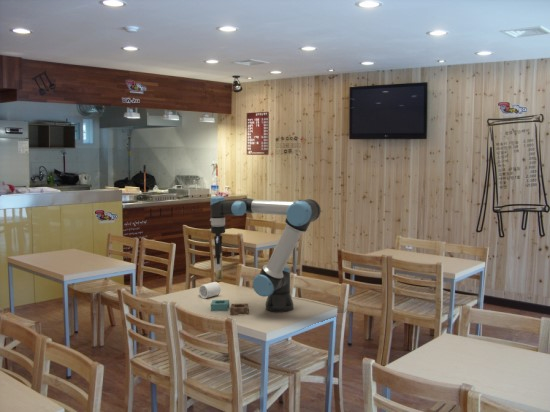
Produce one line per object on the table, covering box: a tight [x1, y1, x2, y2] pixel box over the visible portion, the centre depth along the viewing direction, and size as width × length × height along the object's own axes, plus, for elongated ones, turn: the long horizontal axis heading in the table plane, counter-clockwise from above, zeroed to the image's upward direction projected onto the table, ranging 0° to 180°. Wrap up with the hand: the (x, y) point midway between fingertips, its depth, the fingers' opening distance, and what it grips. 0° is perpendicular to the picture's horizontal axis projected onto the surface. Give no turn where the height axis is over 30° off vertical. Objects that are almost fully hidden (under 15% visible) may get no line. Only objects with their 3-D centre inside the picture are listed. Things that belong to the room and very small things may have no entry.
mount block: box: [229, 302, 249, 316], centre depth 302 cm, size 9×9×4 cm
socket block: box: [210, 299, 230, 312], centre depth 310 cm, size 9×9×4 cm
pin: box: [214, 252, 223, 280], centre depth 308 cm, size 4×4×14 cm
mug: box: [198, 281, 222, 299], centre depth 337 cm, size 12×10×8 cm
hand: (218, 268), depth 308 cm, fingers closed on pin, 3 cm apart
